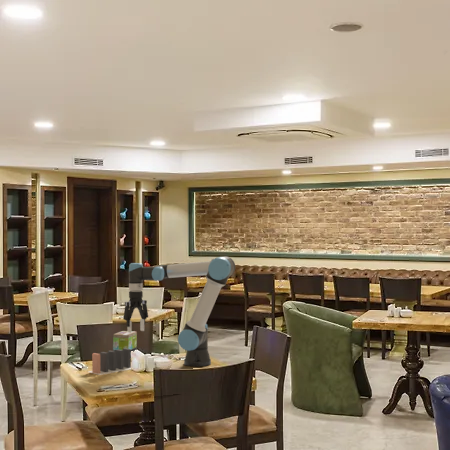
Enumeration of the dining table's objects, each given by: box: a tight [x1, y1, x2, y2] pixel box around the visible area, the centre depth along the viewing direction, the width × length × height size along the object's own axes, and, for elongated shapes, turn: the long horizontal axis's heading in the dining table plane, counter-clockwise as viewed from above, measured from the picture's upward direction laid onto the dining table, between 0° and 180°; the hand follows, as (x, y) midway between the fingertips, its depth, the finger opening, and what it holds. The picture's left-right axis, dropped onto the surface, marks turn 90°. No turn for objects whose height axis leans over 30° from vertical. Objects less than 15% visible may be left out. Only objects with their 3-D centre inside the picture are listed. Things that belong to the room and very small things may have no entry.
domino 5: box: [123, 348, 132, 368], centre depth 383 cm, size 5×2×10 cm, turn 45°
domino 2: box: [99, 351, 108, 372], centre depth 372 cm, size 5×2×10 cm, turn 45°
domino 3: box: [107, 350, 116, 371], centre depth 375 cm, size 5×2×10 cm, turn 45°
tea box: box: [112, 330, 138, 351], centre depth 414 cm, size 15×10×15 cm
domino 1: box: [91, 352, 100, 375], centre depth 368 cm, size 5×2×10 cm, turn 45°
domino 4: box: [115, 349, 123, 369], centre depth 379 cm, size 5×2×10 cm, turn 45°
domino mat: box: [87, 367, 132, 376], centre depth 375 cm, size 12×24×1 cm, turn 135°
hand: (136, 331), depth 387 cm, fingers open, 8 cm apart
